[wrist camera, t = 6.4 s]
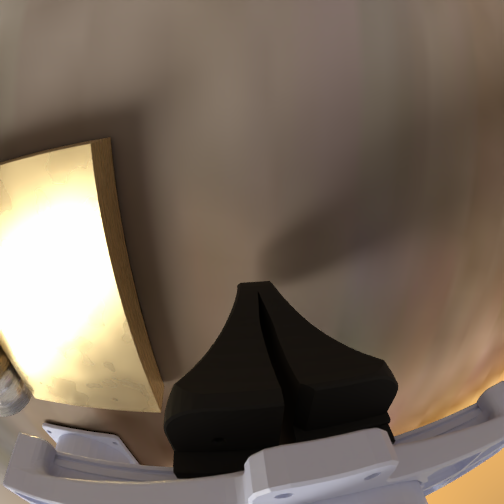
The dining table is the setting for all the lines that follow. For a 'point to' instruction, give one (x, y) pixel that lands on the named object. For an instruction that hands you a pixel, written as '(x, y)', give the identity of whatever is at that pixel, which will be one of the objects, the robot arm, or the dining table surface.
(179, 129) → the dining table surface
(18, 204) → the plate
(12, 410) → the steel leaf
